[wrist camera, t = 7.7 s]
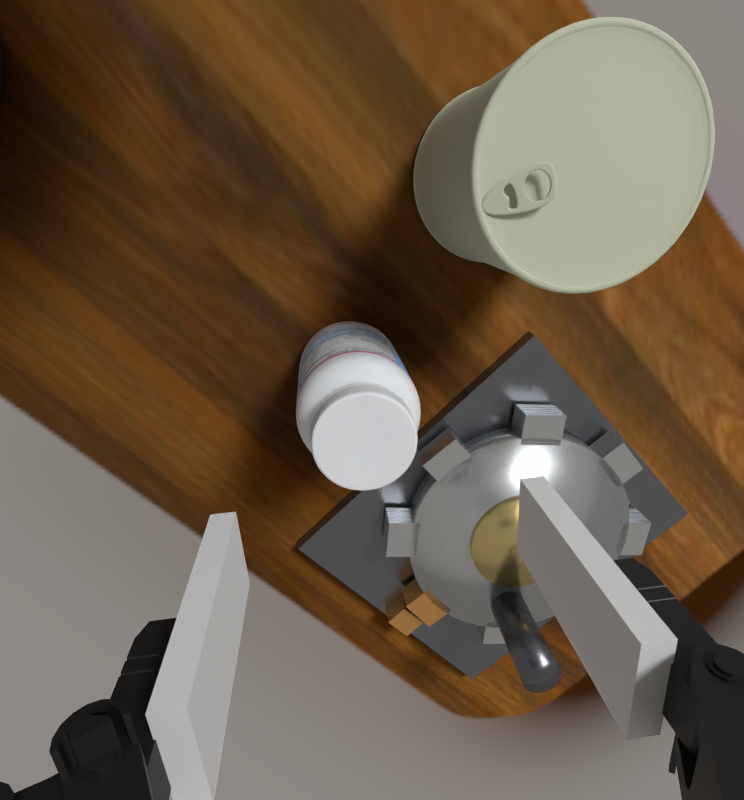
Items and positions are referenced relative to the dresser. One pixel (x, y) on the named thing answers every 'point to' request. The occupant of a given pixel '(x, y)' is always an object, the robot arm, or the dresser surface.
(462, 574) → the sprocket
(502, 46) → the dresser surface
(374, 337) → the pill bottle
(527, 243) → the pale green cylinder
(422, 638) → the base plate
